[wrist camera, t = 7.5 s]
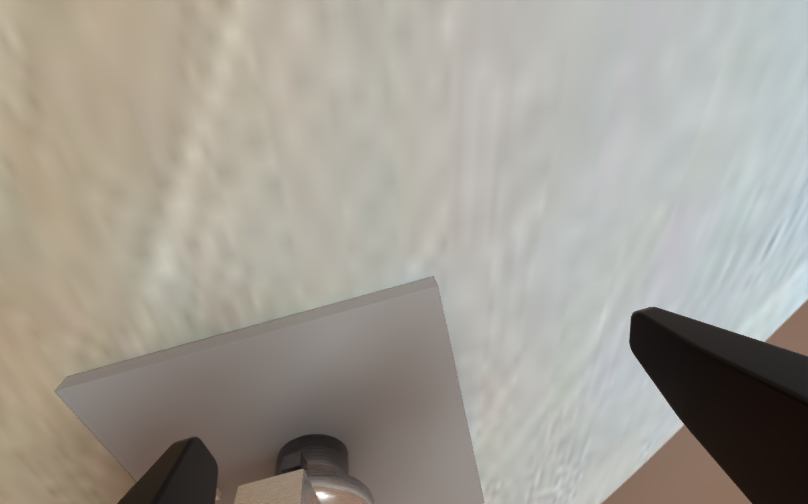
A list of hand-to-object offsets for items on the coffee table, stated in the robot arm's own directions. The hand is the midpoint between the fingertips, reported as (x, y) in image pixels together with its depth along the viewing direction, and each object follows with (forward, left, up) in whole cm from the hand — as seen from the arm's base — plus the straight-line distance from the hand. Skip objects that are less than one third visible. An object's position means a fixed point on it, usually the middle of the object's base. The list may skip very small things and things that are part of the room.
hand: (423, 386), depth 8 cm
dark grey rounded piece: (-8, -15, -12) cm, 21 cm away
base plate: (-8, -15, -12) cm, 21 cm away
